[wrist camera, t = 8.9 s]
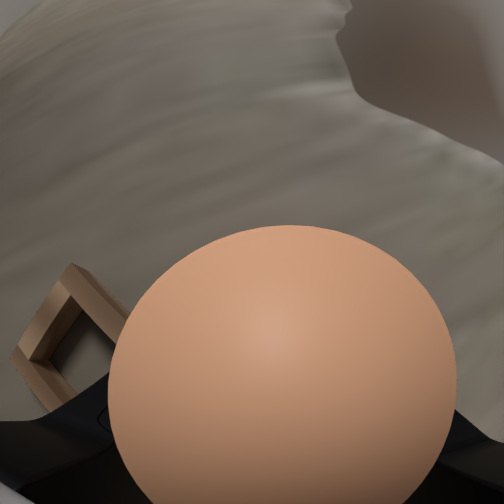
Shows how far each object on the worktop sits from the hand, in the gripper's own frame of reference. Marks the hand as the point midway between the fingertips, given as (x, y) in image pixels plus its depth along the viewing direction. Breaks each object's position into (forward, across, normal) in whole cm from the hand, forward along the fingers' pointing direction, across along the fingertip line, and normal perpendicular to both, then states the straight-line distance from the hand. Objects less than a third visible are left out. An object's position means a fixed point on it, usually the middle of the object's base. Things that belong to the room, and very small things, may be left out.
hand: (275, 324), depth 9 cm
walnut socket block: (+4, +12, +9) cm, 15 cm away
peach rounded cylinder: (+4, 0, +6) cm, 7 cm away
